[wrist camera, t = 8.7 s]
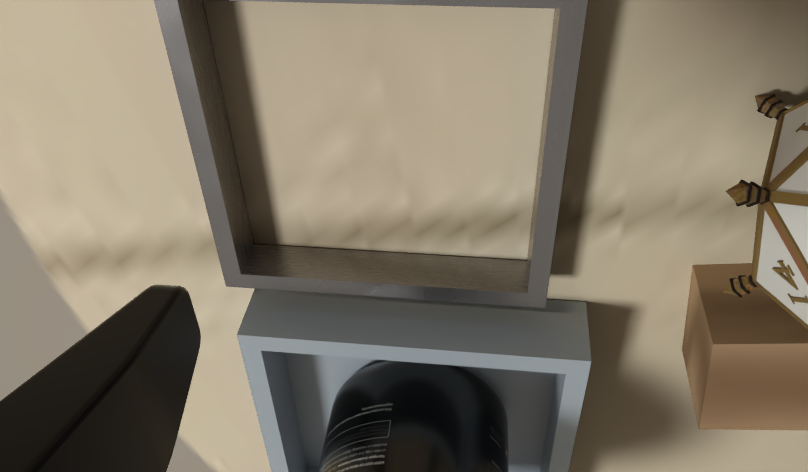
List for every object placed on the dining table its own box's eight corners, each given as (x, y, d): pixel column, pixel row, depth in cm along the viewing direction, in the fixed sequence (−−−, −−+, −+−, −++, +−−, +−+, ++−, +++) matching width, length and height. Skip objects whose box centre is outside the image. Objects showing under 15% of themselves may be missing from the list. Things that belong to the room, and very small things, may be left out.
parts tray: (551, 485, 32) (553, 542, 30) (296, 461, 34) (282, 515, 32) (586, 302, 25) (591, 361, 23) (258, 280, 26) (236, 334, 24)
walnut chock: (868, 343, 25) (909, 431, 22) (681, 345, 26) (698, 429, 23) (900, 255, 22) (950, 342, 20) (691, 261, 24) (713, 344, 21)
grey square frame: (544, 275, 24) (545, 308, 23) (239, 255, 26) (226, 286, 24) (586, -41, 18) (590, -17, 17) (170, -49, 19) (147, -26, 18)
